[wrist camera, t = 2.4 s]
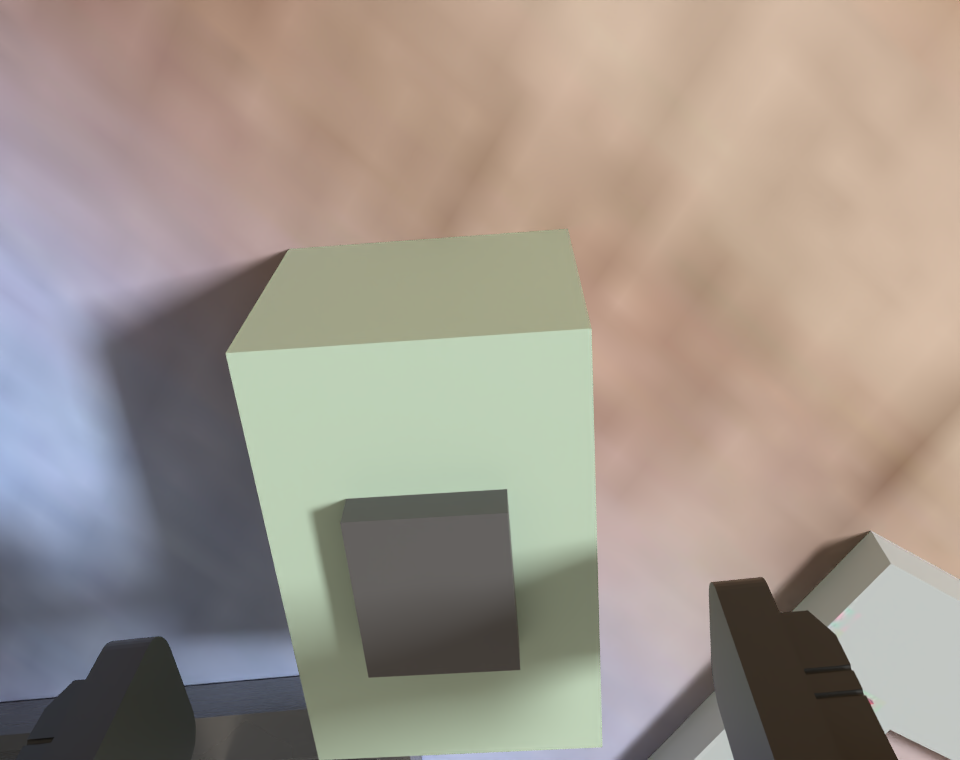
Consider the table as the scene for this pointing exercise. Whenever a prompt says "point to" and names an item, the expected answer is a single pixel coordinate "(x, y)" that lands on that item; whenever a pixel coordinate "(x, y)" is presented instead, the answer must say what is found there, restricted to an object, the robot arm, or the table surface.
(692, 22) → the table surface
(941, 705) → the electronic device
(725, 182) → the table surface
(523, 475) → the module
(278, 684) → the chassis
